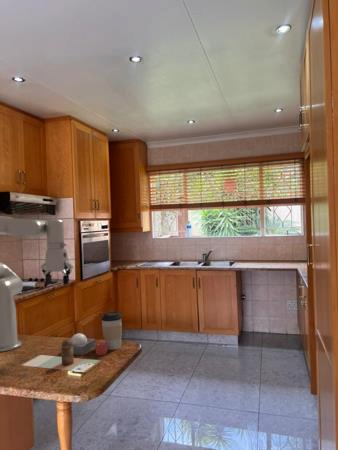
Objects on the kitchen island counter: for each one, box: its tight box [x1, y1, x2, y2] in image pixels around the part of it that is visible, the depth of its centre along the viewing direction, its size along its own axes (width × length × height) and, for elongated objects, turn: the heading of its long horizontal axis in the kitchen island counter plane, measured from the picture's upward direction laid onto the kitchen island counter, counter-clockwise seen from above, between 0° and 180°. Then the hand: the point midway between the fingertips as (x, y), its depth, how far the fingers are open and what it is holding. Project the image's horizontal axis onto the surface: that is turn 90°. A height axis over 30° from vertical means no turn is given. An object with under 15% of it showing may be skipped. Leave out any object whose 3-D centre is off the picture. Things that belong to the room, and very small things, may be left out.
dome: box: [70, 332, 88, 346], centre depth 151 cm, size 7×7×7 cm
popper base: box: [72, 338, 97, 356], centre depth 151 cm, size 10×10×4 cm
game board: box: [20, 354, 103, 374], centre depth 138 cm, size 30×11×1 cm, turn 70°
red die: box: [95, 341, 108, 356], centre depth 147 cm, size 4×4×4 cm
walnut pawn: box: [60, 339, 75, 366], centre depth 137 cm, size 4×4×9 cm
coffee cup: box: [100, 311, 123, 351], centre depth 155 cm, size 9×9×15 cm
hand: (57, 283), depth 161 cm, fingers open, 9 cm apart
